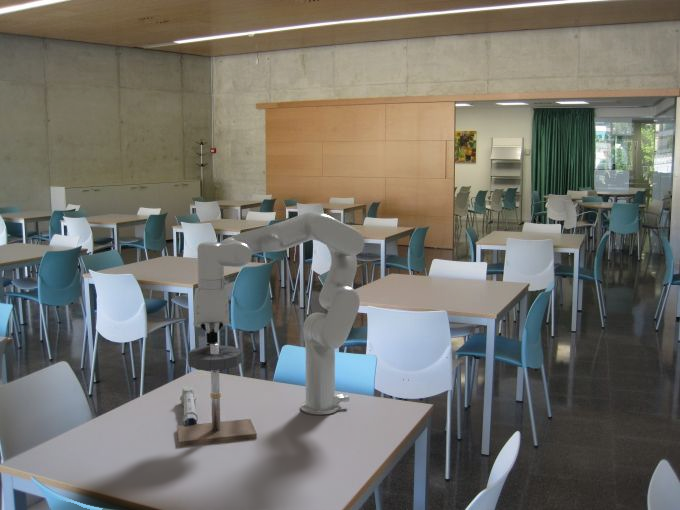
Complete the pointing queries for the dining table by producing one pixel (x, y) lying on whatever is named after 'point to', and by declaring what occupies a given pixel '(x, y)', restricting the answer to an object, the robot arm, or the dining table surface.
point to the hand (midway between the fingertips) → (212, 344)
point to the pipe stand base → (215, 432)
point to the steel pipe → (215, 391)
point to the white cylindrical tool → (189, 405)
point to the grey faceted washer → (214, 358)
